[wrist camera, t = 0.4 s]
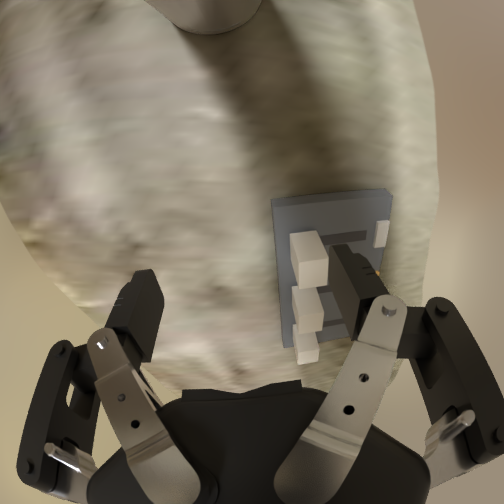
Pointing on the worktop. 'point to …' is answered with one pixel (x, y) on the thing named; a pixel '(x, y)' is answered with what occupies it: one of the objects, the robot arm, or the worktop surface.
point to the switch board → (328, 244)
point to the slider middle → (307, 310)
